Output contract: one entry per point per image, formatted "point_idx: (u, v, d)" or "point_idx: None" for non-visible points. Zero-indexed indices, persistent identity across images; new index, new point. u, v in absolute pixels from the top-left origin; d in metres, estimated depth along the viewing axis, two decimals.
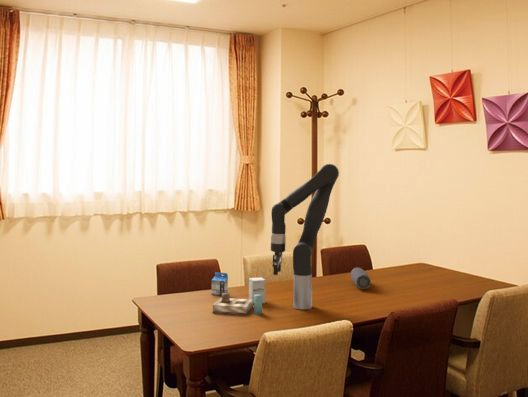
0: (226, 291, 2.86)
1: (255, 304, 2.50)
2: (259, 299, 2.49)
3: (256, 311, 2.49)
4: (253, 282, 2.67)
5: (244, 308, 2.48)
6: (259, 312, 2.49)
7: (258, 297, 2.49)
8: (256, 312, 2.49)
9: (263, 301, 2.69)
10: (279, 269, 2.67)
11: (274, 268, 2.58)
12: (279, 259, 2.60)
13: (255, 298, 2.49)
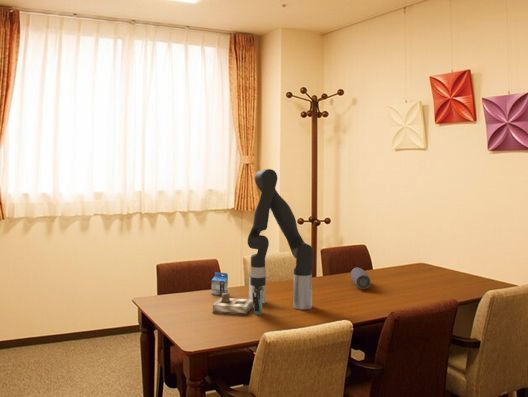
0: (226, 291, 2.86)
1: None
2: None
3: (256, 311, 2.49)
4: None
5: (244, 308, 2.48)
6: (259, 312, 2.49)
7: None
8: (256, 312, 2.49)
9: (263, 301, 2.69)
10: None
11: (255, 304, 2.48)
12: (260, 294, 2.48)
13: None
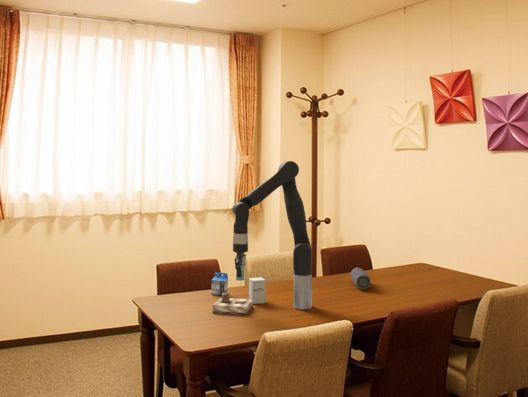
0: (226, 291, 2.86)
1: None
2: None
3: (238, 277, 2.53)
4: (253, 282, 2.67)
5: (244, 308, 2.48)
6: (241, 278, 2.53)
7: (240, 263, 2.53)
8: (238, 278, 2.53)
9: (263, 301, 2.69)
10: None
11: (237, 270, 2.52)
12: (242, 261, 2.52)
13: None
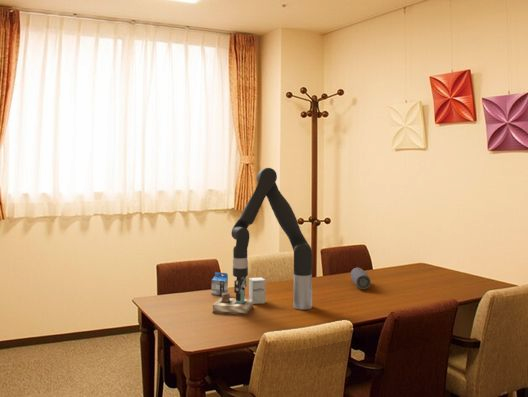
0: (226, 291, 2.86)
1: None
2: (241, 294, 2.54)
3: None
4: (253, 282, 2.67)
5: (244, 308, 2.48)
6: None
7: None
8: None
9: (263, 301, 2.69)
10: None
11: (236, 294, 2.51)
12: (241, 284, 2.52)
13: None
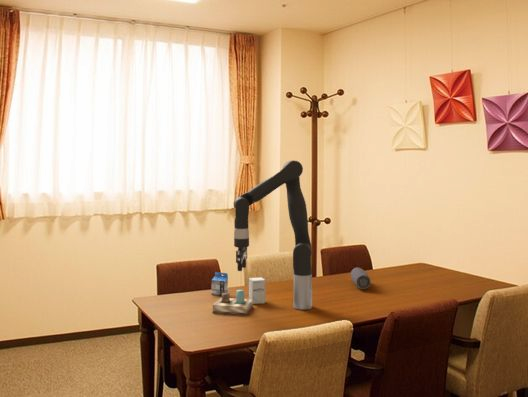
0: (226, 291, 2.86)
1: (237, 299, 2.55)
2: (241, 294, 2.54)
3: None
4: (253, 282, 2.67)
5: (244, 308, 2.48)
6: None
7: (240, 292, 2.54)
8: None
9: (263, 301, 2.69)
10: (244, 265, 2.60)
11: (238, 264, 2.51)
12: (243, 254, 2.53)
13: (237, 293, 2.54)
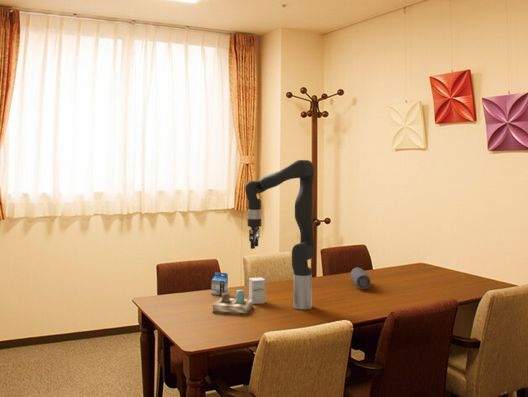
0: (226, 291, 2.86)
1: (237, 299, 2.55)
2: (241, 294, 2.54)
3: None
4: (253, 282, 2.67)
5: (244, 308, 2.48)
6: None
7: (240, 292, 2.54)
8: None
9: (263, 301, 2.69)
10: (256, 244, 2.81)
11: (251, 242, 2.72)
12: (255, 234, 2.74)
13: (237, 293, 2.54)
